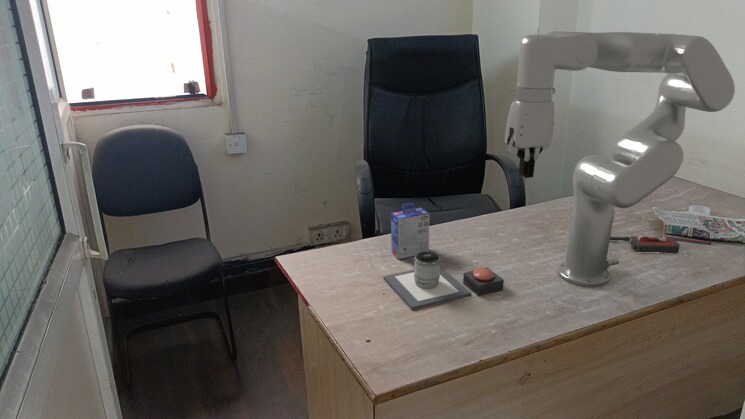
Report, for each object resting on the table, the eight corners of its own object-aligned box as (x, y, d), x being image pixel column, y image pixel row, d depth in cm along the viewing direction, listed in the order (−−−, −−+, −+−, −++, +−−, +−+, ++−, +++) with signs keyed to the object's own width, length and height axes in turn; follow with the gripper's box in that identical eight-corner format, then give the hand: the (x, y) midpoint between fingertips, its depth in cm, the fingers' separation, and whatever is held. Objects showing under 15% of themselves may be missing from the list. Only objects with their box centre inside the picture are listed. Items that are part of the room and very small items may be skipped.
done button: (485, 275, 136) (486, 266, 135) (498, 285, 132) (498, 275, 131) (468, 280, 134) (468, 270, 133) (480, 289, 130) (480, 280, 129)
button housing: (486, 277, 138) (487, 267, 137) (502, 290, 132) (503, 279, 131) (463, 283, 135) (463, 272, 134) (478, 296, 129) (479, 285, 128)
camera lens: (409, 280, 135) (410, 252, 132) (431, 275, 137) (432, 247, 134) (421, 292, 129) (422, 263, 127) (444, 286, 132) (445, 257, 129)
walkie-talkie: (669, 242, 158) (599, 240, 159) (672, 228, 156) (601, 227, 157) (683, 255, 149) (609, 254, 151) (686, 241, 148) (611, 239, 149)
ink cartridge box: (420, 245, 156) (422, 199, 150) (429, 253, 151) (431, 205, 146) (389, 251, 152) (389, 204, 147) (398, 260, 148) (398, 211, 142)
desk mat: (438, 267, 143) (438, 263, 143) (471, 295, 130) (471, 292, 129) (383, 279, 138) (383, 275, 137) (411, 310, 124) (411, 306, 124)
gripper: (550, 89, 121) (541, 167, 128) (494, 95, 116) (488, 175, 123) (573, 95, 115) (563, 176, 122) (516, 100, 110) (508, 185, 116)
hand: (525, 175), depth 122 cm, fingers closed
